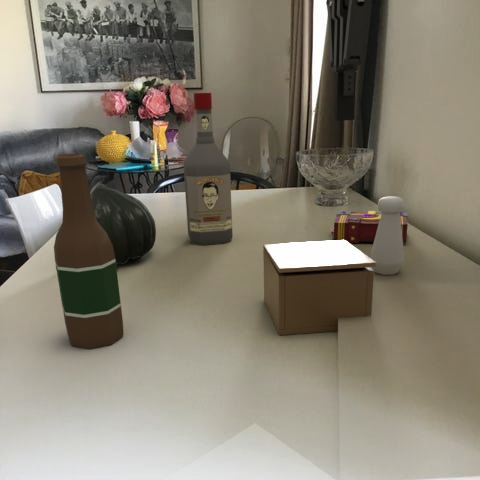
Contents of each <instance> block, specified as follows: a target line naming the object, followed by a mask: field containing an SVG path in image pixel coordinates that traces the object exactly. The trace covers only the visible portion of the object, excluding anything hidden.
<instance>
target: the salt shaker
mask: <svg viewBox="0 0 480 480" xmlns="http://www.w3.org/2000/svg"><path fill="white" fill-rule="evenodd" d="M377 210H378V212H379V213H382V214H381V218H380V221H379V225H378V229H377V233H376V236H375V240H374V242H373V245H372V248H371V252H370V256H369V258H371V259H372V260H373V261H375V262H376V267H372V269H373V270H374V274H375V273H376V274H380V275H382V276H394V275H397V274H398V273H399V272H400V270H401V268H402V266H403V265H404V262H405V250H404V243H403V239H402V228H401V218H400V212H404V210H405V200H404V199H403V198H402V197H399V196H394V195H390V196H389V195H388V196H387V195H386V196H383V197H381V198H380V199H379V200H378V202H377Z"/></svg>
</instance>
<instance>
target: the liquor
mask: <svg viewBox="0 0 480 480" xmlns="http://www.w3.org/2000/svg"><path fill="white" fill-rule="evenodd" d="M213 108H214V107H213V92H193V109H194V110H195V117H196V139H195V144H194V145H193V147H192V148H191V150H190V151H189V153H188V154H187V155H186V157H185V158H184V160H183V161H184V162H183V177H184V178H183V179H184V192H185V193H184V194H185V195H184V196H185V206H186V210H185V211H186V224H187V235H188V238H189V240H190V242H191V244H192V245H198V246H210V245H211V246H212V245H224V244H226V243H229V242H231V241H232V239H233V237H234V235H233V212H232V211H233V210H232V184H231V183H232V181H231V164H230V162H229V159H228V158H227V157H226V155H225V154H224V153H223V152H222V150H220V148H219V146H217V145H216V143H215V138H214V131H213V115H212V110H213Z"/></svg>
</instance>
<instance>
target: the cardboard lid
mask: <svg viewBox="0 0 480 480" xmlns="http://www.w3.org/2000/svg"><path fill="white" fill-rule="evenodd" d="M262 248H263V249H264V250H265V252H266V253H267V255H268V256H269V258H270V259H271V261H272V262H273V264H274V265H275V267H276V268H277V270H278V271H279V273H285V272H301V271H317V270H333V269H349V268H365V267H371V268H373V267H376V262H375V261H373V260H372V259H371V258H370V256H368V255H367V254H365V253H364V252H363V251H361V250H360V249H359V248H357V247H355V246H354V245H353V244H352V243H349V242H348V241H346V240H336V241H334V240H321V241H305V242H304V241H302V242H287V243H268V244H263V245H262Z"/></svg>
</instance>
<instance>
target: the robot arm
mask: <svg viewBox="0 0 480 480" xmlns="http://www.w3.org/2000/svg"><path fill="white" fill-rule="evenodd" d="M370 3H371V0H326V1H325V4H326V11H327V21H328V44H329V45H328V46H329V67H330V68H331V69H333V72H334V87H333V89H334V93H333V121H334V122H335V121H336V122H337V121H338V122H339V121H355V116H356V115H355V114H356V90H357V87H356V86H357V71H358V70H359V66H362V65H363V62H364V54H365V53H364V52H365V46H366V45H365V44H366V37H367V36H366V35H367V29H368V20H369V11H370Z"/></svg>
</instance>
